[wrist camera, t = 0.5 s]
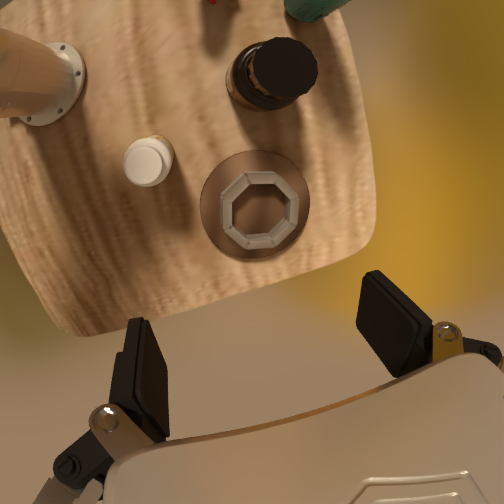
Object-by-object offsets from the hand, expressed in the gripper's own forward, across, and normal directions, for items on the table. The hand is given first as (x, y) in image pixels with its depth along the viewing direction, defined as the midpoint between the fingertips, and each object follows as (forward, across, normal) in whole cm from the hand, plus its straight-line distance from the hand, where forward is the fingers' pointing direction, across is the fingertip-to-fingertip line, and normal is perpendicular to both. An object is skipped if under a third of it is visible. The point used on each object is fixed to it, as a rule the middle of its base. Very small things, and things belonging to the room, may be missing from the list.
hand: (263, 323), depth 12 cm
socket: (+31, -6, +5) cm, 32 cm away
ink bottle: (+31, -8, -13) cm, 34 cm away
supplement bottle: (+31, +7, -4) cm, 32 cm away
